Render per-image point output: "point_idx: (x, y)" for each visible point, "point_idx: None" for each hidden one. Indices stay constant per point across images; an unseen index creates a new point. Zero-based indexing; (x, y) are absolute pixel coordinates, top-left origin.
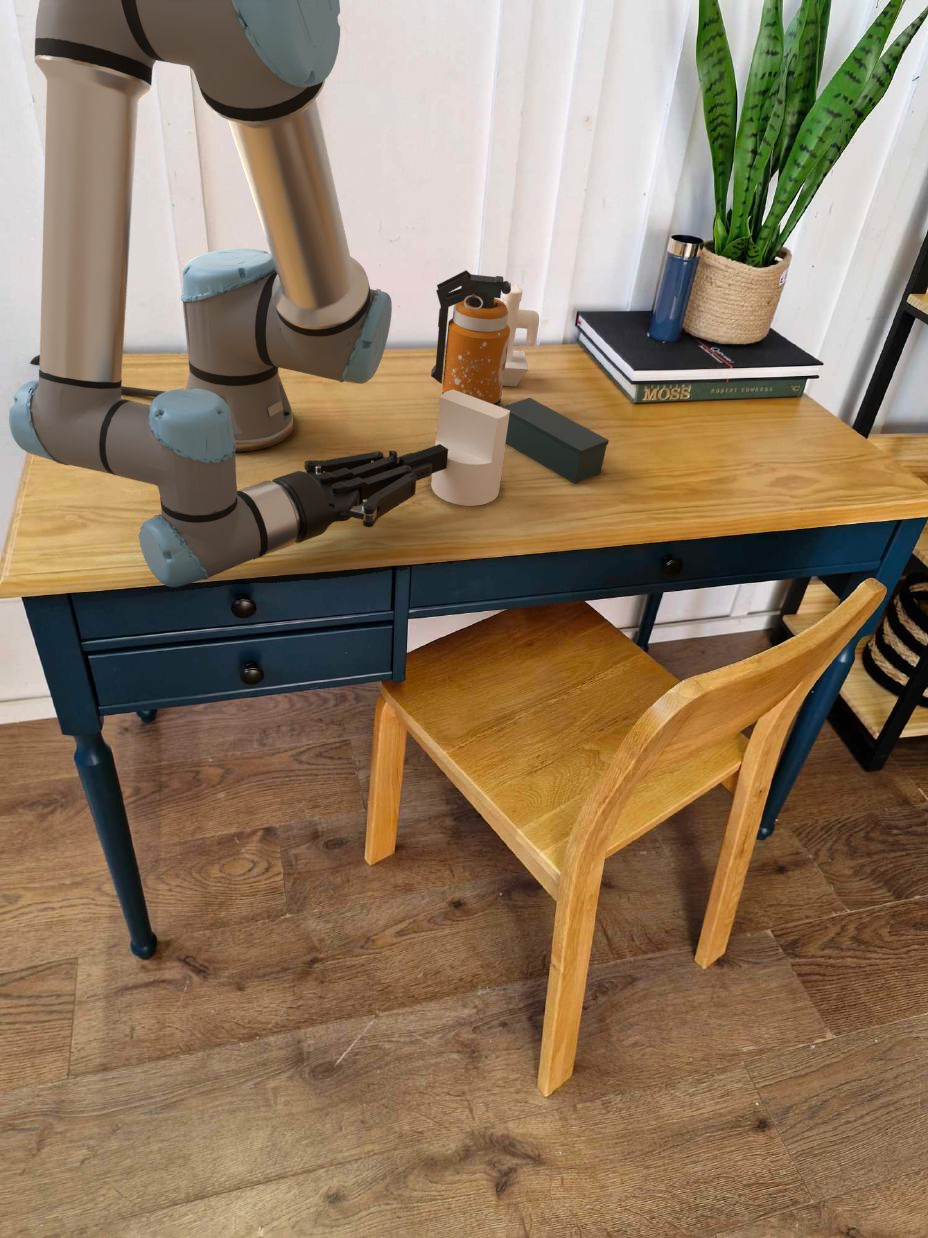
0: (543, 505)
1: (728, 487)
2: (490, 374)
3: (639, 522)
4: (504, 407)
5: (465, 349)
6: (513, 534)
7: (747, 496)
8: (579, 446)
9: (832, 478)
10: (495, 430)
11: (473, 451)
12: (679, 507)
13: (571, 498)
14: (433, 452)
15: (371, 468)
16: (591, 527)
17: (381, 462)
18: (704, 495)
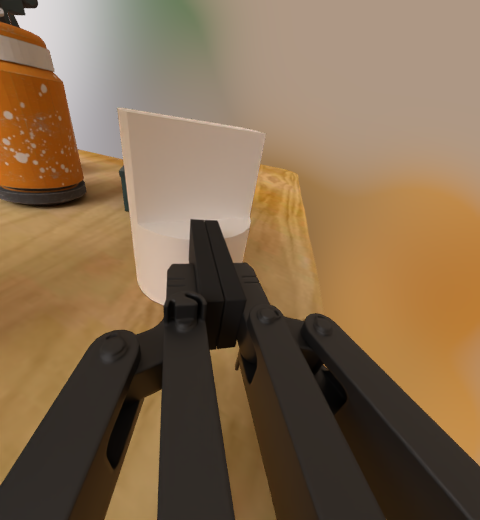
0: (260, 244)
1: (271, 188)
2: (68, 140)
3: (302, 221)
4: (123, 171)
5: (13, 98)
6: (312, 286)
7: (282, 189)
8: None
9: (274, 174)
10: (260, 159)
11: (219, 212)
12: (287, 204)
13: (256, 228)
14: (216, 238)
15: (224, 475)
16: (305, 239)
17: (191, 377)
18: (276, 195)
